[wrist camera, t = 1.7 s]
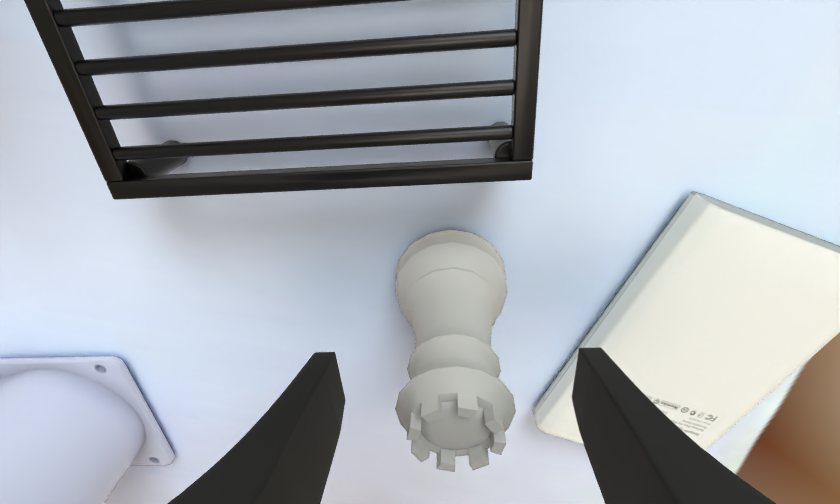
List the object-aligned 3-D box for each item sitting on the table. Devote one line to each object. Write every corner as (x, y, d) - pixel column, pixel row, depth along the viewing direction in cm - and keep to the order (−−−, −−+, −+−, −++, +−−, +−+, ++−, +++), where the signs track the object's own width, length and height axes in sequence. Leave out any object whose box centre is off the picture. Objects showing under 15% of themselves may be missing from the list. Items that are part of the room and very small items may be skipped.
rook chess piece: (524, 247, 17) (581, 412, 10) (475, 327, 19) (494, 508, 12) (420, 207, 17) (406, 354, 10) (381, 294, 19) (346, 467, 12)
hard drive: (869, 256, 17) (672, 446, 23) (687, 186, 16) (530, 405, 22) (908, 279, 15) (687, 476, 21) (711, 204, 14) (537, 434, 20)
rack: (165, 168, 16) (112, 200, 14) (28, -200, 11) (-95, -262, 9) (516, 150, 15) (532, 180, 13) (535, -260, 10) (565, -348, 8)
